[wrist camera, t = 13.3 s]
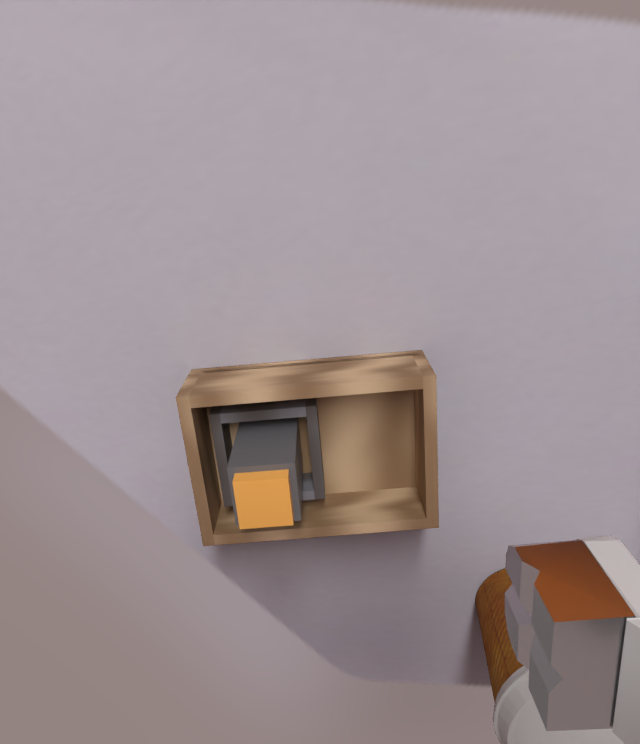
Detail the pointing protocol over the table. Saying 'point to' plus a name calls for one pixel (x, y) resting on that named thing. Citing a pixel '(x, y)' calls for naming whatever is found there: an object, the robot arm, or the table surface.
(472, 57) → the table surface
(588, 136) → the table surface
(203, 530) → the box
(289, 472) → the block
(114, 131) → the table surface
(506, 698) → the disposable coffee cup
